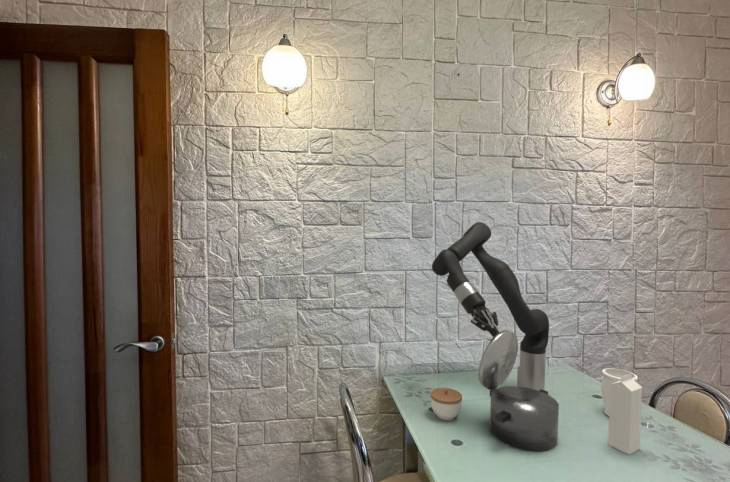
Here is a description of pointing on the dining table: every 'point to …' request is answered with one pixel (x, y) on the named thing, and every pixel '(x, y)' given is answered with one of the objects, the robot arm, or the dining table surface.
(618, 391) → the milk
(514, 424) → the cooker pot
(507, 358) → the lid
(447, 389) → the lidded jar
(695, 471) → the dining table surface
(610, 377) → the jar
